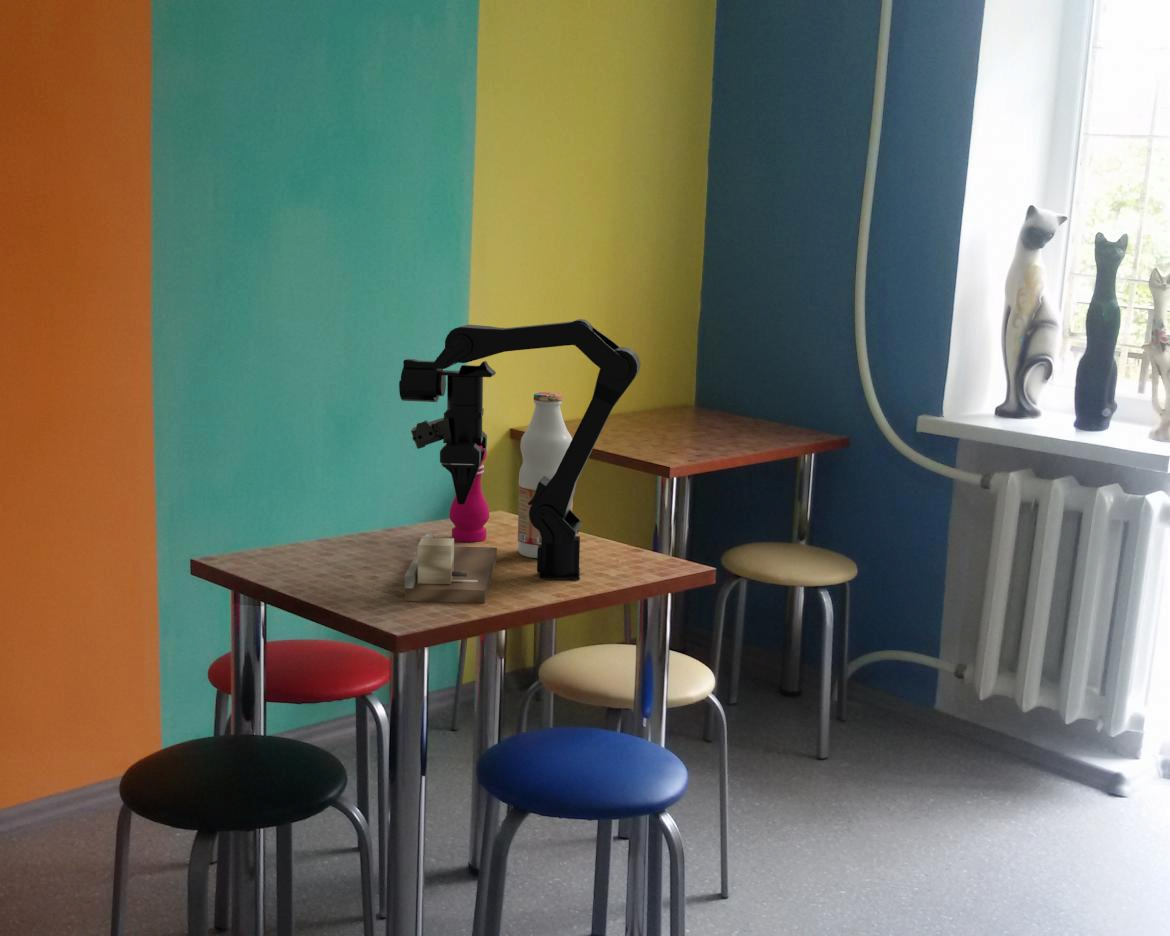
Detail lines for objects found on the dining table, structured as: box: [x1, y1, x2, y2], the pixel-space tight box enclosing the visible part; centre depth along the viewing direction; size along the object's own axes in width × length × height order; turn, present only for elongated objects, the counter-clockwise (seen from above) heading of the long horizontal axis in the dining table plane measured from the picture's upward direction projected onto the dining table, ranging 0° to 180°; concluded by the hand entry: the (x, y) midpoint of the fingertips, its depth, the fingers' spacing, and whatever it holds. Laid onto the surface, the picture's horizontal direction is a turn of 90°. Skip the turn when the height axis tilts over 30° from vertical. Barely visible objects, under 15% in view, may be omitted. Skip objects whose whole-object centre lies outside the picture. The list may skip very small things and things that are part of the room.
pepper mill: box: [448, 446, 490, 543], centre depth 249 cm, size 7×7×20 cm
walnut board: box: [404, 533, 498, 604], centre depth 221 cm, size 12×28×4 cm, turn 0°
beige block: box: [417, 537, 467, 584], centre depth 212 cm, size 7×5×6 cm
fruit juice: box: [517, 391, 574, 559], centre depth 238 cm, size 9×9×28 cm
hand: (463, 498), depth 225 cm, fingers open, 9 cm apart
